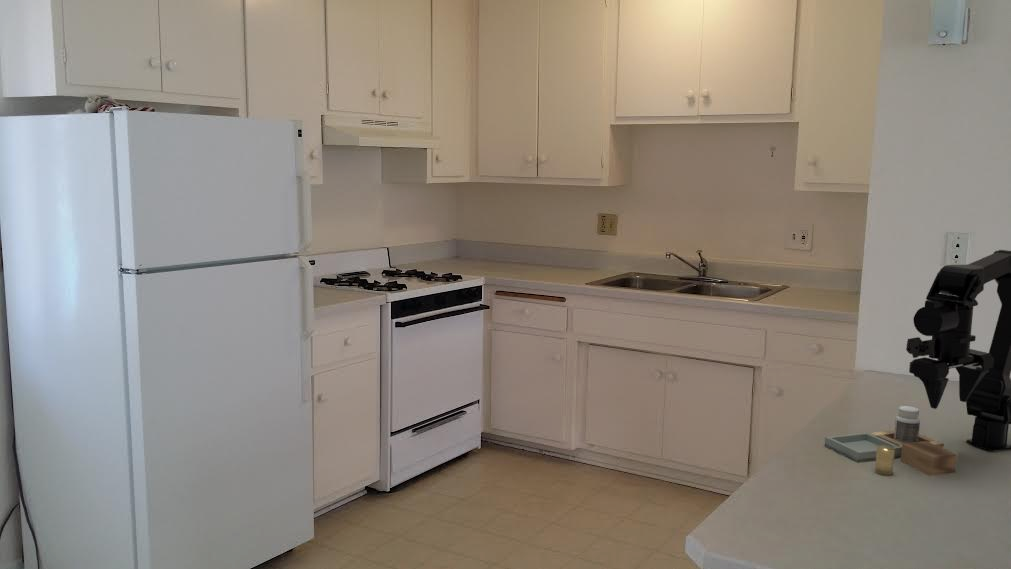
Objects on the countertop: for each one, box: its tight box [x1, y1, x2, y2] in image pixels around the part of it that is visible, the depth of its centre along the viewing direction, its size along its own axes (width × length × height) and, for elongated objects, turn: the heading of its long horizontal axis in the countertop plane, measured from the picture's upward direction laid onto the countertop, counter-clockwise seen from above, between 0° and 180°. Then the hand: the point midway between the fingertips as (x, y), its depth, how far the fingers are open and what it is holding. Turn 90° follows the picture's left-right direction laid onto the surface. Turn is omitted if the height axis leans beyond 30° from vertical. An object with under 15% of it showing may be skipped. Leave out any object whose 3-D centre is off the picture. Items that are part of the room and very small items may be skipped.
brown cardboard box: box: [900, 441, 958, 476], centre depth 171 cm, size 6×8×4 cm
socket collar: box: [869, 429, 945, 452], centre depth 183 cm, size 10×10×2 cm
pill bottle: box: [894, 405, 921, 443], centre depth 182 cm, size 5×5×8 cm
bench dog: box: [874, 445, 895, 476], centre depth 167 cm, size 3×3×5 cm
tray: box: [824, 431, 902, 463], centre depth 179 cm, size 11×10×2 cm
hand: (948, 404), depth 172 cm, fingers open, 9 cm apart
